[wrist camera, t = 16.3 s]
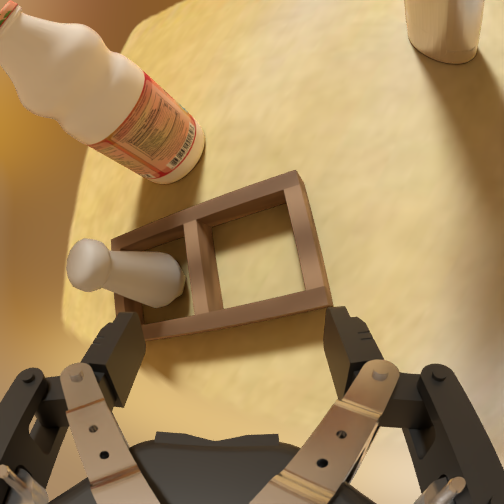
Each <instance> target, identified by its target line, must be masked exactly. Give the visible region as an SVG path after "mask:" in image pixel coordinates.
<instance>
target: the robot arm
mask: <svg viewBox="0 0 504 504" xmlns="http://www.w3.org/2000/svg"><path fill="white" fill-rule="evenodd" d="M404 4H405V15H406V23H407V28H408V37H409V40H410V42H411V43H412V44H413V46H414V47H415V48H416V49H418V50H419V51H420V52H421V53H423V54H424V55H426V56H428V57H430V58H432V59H435V60H438V61H441V62H445V63H452V64H461V63H465V62H468V61H470V60H472V59H473V58H474V57H475V55H476V52H477V48H478V42H479V36H480V30H481V24H482V16H483V8H484V0H404ZM323 342H324V351H325V355H326V358H327V361H328V365H329V368H330V372H331V375H332V378H333V382H334V385H335V389H336V392H337V396H338V399H337V400H336V401H335V403H334V404H333V405H332V407H331V408H330V410H329V411H328V412H327V414H326V415H325V417H324V418H323V420H322V421H321V422H320V424H319V425H318V426H317V428H316V429H315V430H314V432H313V433H312V435H311V436H310V437H309V438H308V440H307V441H306V442H305V444H304V445H303V446H302V448H299V447H297V446H294V445H291V444H287V443H282V442H279V437H278V434H264V435H245V436H240V437H236V438H231V439H226V440H221V441H211V440H207V439H203V438H199V437H195V436H192V435H188V434H182V433H168V432H156V436H155V440H150V441H145V442H142V443H139V444H136V445H134V446H132V447H129V445H128V443H127V441H126V439H125V438H124V435H123V433H122V431H121V429H120V428H119V425H118V423H117V421H116V419H115V417H114V415H113V413H112V410H113V407H122V408H124V406H125V403H126V401H127V398H128V395H129V393H130V390H131V388H132V385H133V383H134V380H135V377H136V375H137V372H138V370H139V367H140V365H141V362H142V360H143V357H144V355H145V350H146V344H145V339H144V335H143V331H142V327H141V323H140V319H139V316H138V314H137V313H136V312H119V313H118V315H117V317H116V318H115V320H114V321H113V323H108V324H107V325H106V326H104V327H103V328H102V329H101V330H100V332H99V333H98V335H97V338H95V340H94V341H93V344H91V346H90V348H89V349H88V351H87V352H86V354H85V356H84V357H83V359H82V361H81V362H80V363H75V364H72V365H69V366H68V367H66V368H65V369H64V370H63V371H62V373H61V375H60V376H57V377H48V378H45V376H44V374H43V372H42V371H41V370H40V369H38V368H29V369H26V370H24V371H22V372H21V373H20V374H18V376H17V377H16V379H15V380H14V382H13V383H12V385H11V386H10V388H9V390H8V391H7V393H6V394H5V396H4V398H3V399H2V401H1V403H0V504H376V503H375V502H373V501H372V500H370V499H369V498H368V497H366V496H365V495H363V494H362V493H360V492H359V491H358V490H357V489H355V488H354V487H353V486H351V485H350V483H351V481H352V479H353V478H354V476H355V474H356V472H357V470H358V468H359V467H360V464H361V463H362V461H363V459H364V457H365V455H366V454H367V452H368V450H369V448H370V446H371V444H372V442H373V441H374V439H375V437H376V435H377V433H378V431H379V429H380V427H381V426H382V427H396V428H402V430H403V433H404V436H405V439H406V442H407V445H408V449H409V452H410V455H411V458H412V461H413V465H414V468H415V472H416V475H417V478H418V482H419V486H420V489H421V493H422V495H421V496H420V497H419V498H418V499H417V500H416V501H415V502H414V504H504V469H503V467H502V465H501V463H500V460H499V458H498V456H497V454H496V452H495V450H494V447H493V445H492V443H491V441H490V439H489V437H488V435H487V433H486V431H485V429H484V427H483V425H482V423H481V421H480V419H479V417H478V415H477V414H476V412H475V410H474V408H473V406H472V404H471V402H470V401H469V399H468V397H467V395H466V393H465V391H464V390H463V388H462V386H461V384H460V383H459V381H458V379H457V377H456V376H455V374H454V372H453V371H452V370H451V369H450V368H448V367H446V366H444V365H441V364H430V365H427V366H426V367H424V368H423V370H422V372H421V374H407V373H401V372H399V370H398V368H397V367H396V366H395V365H394V364H393V363H391V362H389V361H386V360H384V358H383V356H382V354H381V352H380V350H379V348H378V346H377V344H376V342H375V341H374V339H373V337H372V335H371V333H370V331H369V329H368V327H367V325H366V323H365V322H363V321H362V320H361V319H359V318H358V317H350V315H349V313H348V311H347V309H346V307H345V306H341V307H328V308H327V310H326V318H325V328H324V339H323ZM34 415H35V416H36V418H37V420H36V422H35V424H34V426H33V428H32V430H31V433H30V434H29V424H30V422H31V420H32V418H33V416H34ZM69 426H70V429H71V432H72V435H73V438H74V441H75V444H76V447H77V449H78V452H79V455H80V457H81V461H82V463H83V466H84V469H85V471H86V474H87V476H88V477H87V478H86V479H84V480H82V481H81V482H79V483H78V484H76V485H75V486H73V487H72V488H70V489H69V490H67V491H66V492H64V493H63V494H61V495H60V496H58V497H56V498H55V499H53V500H52V501H50V502H49V503H48V494H47V492H46V490H45V489H46V486H47V483H48V480H49V477H50V475H51V472H52V469H53V466H54V463H55V461H56V458H57V455H58V452H59V450H60V447H61V444H62V442H63V439H64V437H65V434H66V432H67V429H68V427H69Z"/></svg>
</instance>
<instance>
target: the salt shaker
mask: <svg viewBox="0 0 504 504" xmlns="http://www.w3.org/2000/svg"><path fill="white" fill-rule="evenodd" d="M66 269H67V275H68V278H69V281H70V282H71V284H72V285H73V287H75V288H77V289H79V290H82V291H85V292H92V291H95V290H98V289H101V288H104V289H107V290H109V291H112V292H114V293H117V294H119V295H122V296H124V297H127V298H129V299H132V300H135V301H137V302H140V303H143V304H145V305H148V306H151V307H153V308H159V307H163V306H166V305H169V304H170V303H171V302H172V301H173V300H174V299H175V298H176V297H178V296H180V295H182V294H183V289H184V285H185V280H186V276H185V275H184V273H183V272H182V270H181V268H180V266H179V264H178V262H177V261H176V260H175V259H174V258H173V257H172V256H171V255H169V254H167V253H162V252H142V251H109V250H108V249H107V247H106V246H105V245H104V244H103V243H102V242H100V241H97V240H93V239H82V240H80V241H78V242H77V243H76V244H75V245H74V246H73V247H72V249H71V250H70V253H69V255H68V258H67V267H66Z"/></svg>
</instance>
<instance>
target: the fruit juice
mask: <svg viewBox="0 0 504 504" xmlns="http://www.w3.org/2000/svg"><path fill="white" fill-rule="evenodd" d="M21 9H22V8H21V7H19V6H18V4H17V3H15V2H13V1H8V2H7V3H6V5H5V6H4V7H3V8H2V9H1V11H0V65H1V66H2V68H3V69H4V70H5V72H6V73H7V74H8V76H9V77H10V79H11V80H12V82H13V84H14V86H15V88H16V91H17V93H18V96H19V99H20V101H21V103H22V104H23V106H24V107H25V108H26V109H27V110H29V111H30V112H32V113H33V114H36V115H38V116H42V117H47V118H52V119H55V120H57V121H58V122H59V124H60V126H61V127H62V128H63V129H64V131H66V132H67V133H68V134H69V135H71V136H72V137H74V138H75V139H77V140H78V141H80V142H82V143H84V144H86V145H88V146H89V147H91V148H93V149H95V150H97V151H98V152H100V153H102V154H104V155H105V156H107V157H109V158H111V159H112V160H114V161H116V162H118V163H119V164H121V165H123V166H125V167H127V168H128V169H130V170H132V171H134V172H135V173H137V174H139V175H141V176H142V177H144V178H146V179H148V180H149V181H152V182H155V183H158V184H169V183H173V182H176V181H178V180H180V179H181V178H183V177H184V176H186V175H187V174H188V173H189V172H190V171H191V170H192V169H193V168H194V166H195V165H196V164H197V162H198V160H199V159H200V157H201V154H202V152H203V148H204V142H205V138H204V133H203V130H202V128H201V126H200V124H199V123H198V122H197V121H196V120H195V119H194V118H193V117H192V116H191V115H190V114H189V113H188V112H187V111H186V110H185V109H184V108H183V107H182V106H181V105H180V104H179V103H178V102H176V101H175V100H174V99H173V98H172V97H171V96H170V95H169V94H168V93H167V92H166V91H165V90H164V89H162V88H161V87H160V86H159V85H158V84H157V83H156V82H155V81H154V80H153V79H151V78H150V77H149V76H148V75H147V74H146V73H145V72H144V71H143V70H142V69H141V68H140V67H138V66H137V65H136V64H135V63H133V62H132V61H131V60H130V59H128V58H127V57H125V56H123V55H121V54H119V53H115V52H112V51H110V50H109V49H108V48H107V47H106V45H105V44H104V42H103V41H102V39H101V37H100V36H99V35H98V34H97V33H96V32H95V31H94V30H92V29H91V28H89V27H88V26H85V25H82V24H63V23H56V22H52V21H47V20H43V19H40V18H36V17H32V16H29V15H26V14H24V13H23V12H22V11H21Z"/></svg>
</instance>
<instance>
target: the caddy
mask: <svg viewBox="0 0 504 504" xmlns="http://www.w3.org/2000/svg"><path fill="white" fill-rule="evenodd" d="M284 203H287V206H288V210H289V215H290V219H291V223H292V228H293V232H294V237H295V241H296V246H297V250H298V255H299V259H300V264H301V269H302V273H303V278H304V283H305V288H306V291H302V292H297V293H293V294H289V295H285V296H281V297H276V298H272V299H268V300H263V301H259V302H254V303H250V304H245V305H241V306H236V307H231V308H227V309H223V303H222V296H221V290H220V284H219V277H218V271H217V264H216V257H215V250H214V243H213V236H212V229H211V227H214V226H217V225H220V224H223V223H226V222H229V221H232V220H235V219H238V218H241V217H244V216H247V215H250V214H253V213H256V212H259V211H262V210H266V209H269V208H272V207H275V206H278V205H281V204H284ZM182 237H185V243H186V252H187V260H188V268H189V276H190V284H191V291H192V298H193V305H194V312H195V315H193V316H188V317H183V318H177V319H172V320H167V321H162V322H156V323H151V324H145V325H144V318H143V310H142V303H140V302H137V301H135V300H132V299H129V298H127V297H124V296H122V295H119V294H117V293H114V299H115V310H116V317H117V315H118V313H119V312H136V313H137V314H138V316H139V319H140V323H141V327H142V331H143V335H144V339H145V341H149V340H156V339H163V338H169V337H176V336H182V335H189V334H195V333H201V332H207V331H213V330H218V329H224V328H229V327H235V326H240V325H245V324H250V323H256V322H261V321H266V320H271V319H275V318H280V317H285V316H290V315H294V314H299V313H303V312H308V311H312V310H316V309H321V308H325V307H329V306H333V302H332V297H331V292H330V288H329V283H328V279H327V274H326V270H325V265H324V261H323V257H322V252H321V248H320V244H319V240H318V236H317V232H316V227H315V223H314V219H313V216H312V212H311V208H310V204H309V200H308V196H307V193H306V189H305V185H304V182H303V181H302V179H301V177H300V176H299V174H298V173H297V171H296V170H293V171H290V172H287V173H284V174H281V175H278V176H275V177H272V178H269V179H267V180H264V181H261V182H258V183H255V184H252V185H249V186H246V187H244V188H241V189H238V190H235V191H232V192H230V193H227V194H224V195H222V196H219V197H216V198H213V199H211V200H208V201H205V202H203V203H200V204H197V205H195V206H192V207H190V208H187V209H184V210H182V211H179V212H177V213H174V214H172V215H169V216H167V217H164V218H162V219H159V220H157V221H154V222H152V223H149V224H147V225H145V226H142V227H140V228H137V229H135V230H133V231H130V232H128V233H125V234H123V235H121V236H118V237H116V238H114V239H111V251H145V250H148V249H150V248H153V247H156V246H159V245H162V244H165V243H167V242H170V241H173V240H176V239H179V238H182Z"/></svg>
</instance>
